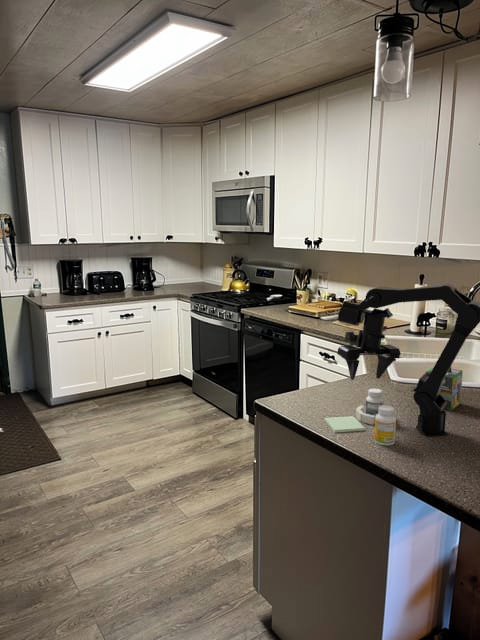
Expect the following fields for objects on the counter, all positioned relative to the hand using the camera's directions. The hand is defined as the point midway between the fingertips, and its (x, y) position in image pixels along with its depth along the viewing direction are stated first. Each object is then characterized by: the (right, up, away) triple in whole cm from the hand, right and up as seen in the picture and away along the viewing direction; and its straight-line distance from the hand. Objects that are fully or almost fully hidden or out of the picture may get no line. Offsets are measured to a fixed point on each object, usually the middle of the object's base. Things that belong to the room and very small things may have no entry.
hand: (365, 378), depth 145 cm
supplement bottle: (+1, -15, -15) cm, 21 cm away
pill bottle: (+3, -12, +2) cm, 13 cm away
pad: (-7, -13, -4) cm, 16 cm away
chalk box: (+29, -10, +13) cm, 33 cm away
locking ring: (+3, -12, +2) cm, 13 cm away
